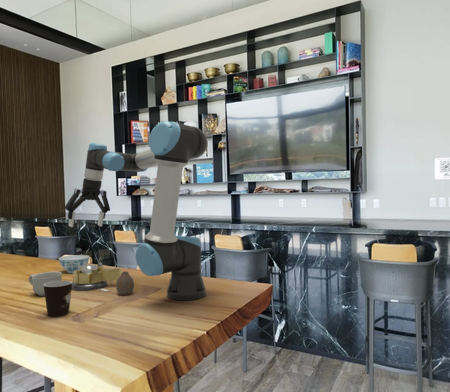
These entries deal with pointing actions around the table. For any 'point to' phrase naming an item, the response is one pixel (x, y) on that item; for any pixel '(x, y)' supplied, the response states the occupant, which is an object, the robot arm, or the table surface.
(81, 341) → the table surface
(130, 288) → the vase
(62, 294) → the coffee mug
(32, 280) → the teacup
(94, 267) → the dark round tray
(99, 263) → the pocket watch
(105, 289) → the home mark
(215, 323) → the table surface
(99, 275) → the tan piece
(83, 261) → the chinaware
